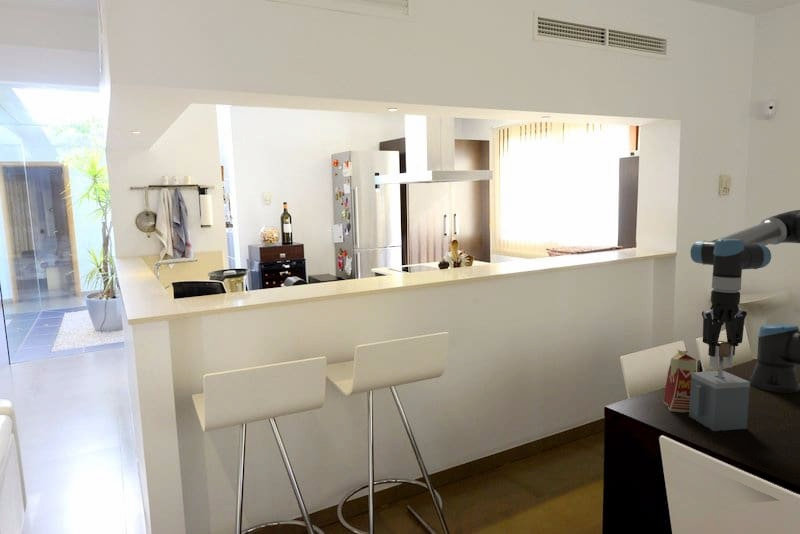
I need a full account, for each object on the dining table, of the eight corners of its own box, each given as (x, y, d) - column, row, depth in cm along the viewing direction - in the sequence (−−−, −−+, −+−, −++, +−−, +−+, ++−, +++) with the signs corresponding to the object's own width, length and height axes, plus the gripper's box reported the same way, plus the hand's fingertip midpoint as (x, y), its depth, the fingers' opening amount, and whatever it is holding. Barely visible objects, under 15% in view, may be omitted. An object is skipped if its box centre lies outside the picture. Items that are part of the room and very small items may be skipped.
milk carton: (700, 413, 177) (704, 353, 174) (669, 411, 178) (672, 351, 176) (691, 403, 185) (695, 345, 183) (662, 401, 187) (665, 344, 185)
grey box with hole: (720, 414, 176) (723, 370, 174) (746, 428, 165) (750, 381, 163) (683, 417, 174) (685, 372, 172) (707, 431, 163) (710, 384, 161)
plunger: (719, 413, 174) (724, 338, 171) (739, 423, 166) (744, 345, 163) (696, 414, 173) (700, 339, 170) (714, 425, 165) (719, 346, 162)
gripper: (742, 287, 169) (736, 361, 172) (691, 289, 167) (686, 363, 170) (761, 291, 162) (755, 368, 165) (708, 293, 160) (703, 371, 162)
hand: (720, 366), depth 167 cm, fingers closed on plunger, 4 cm apart
